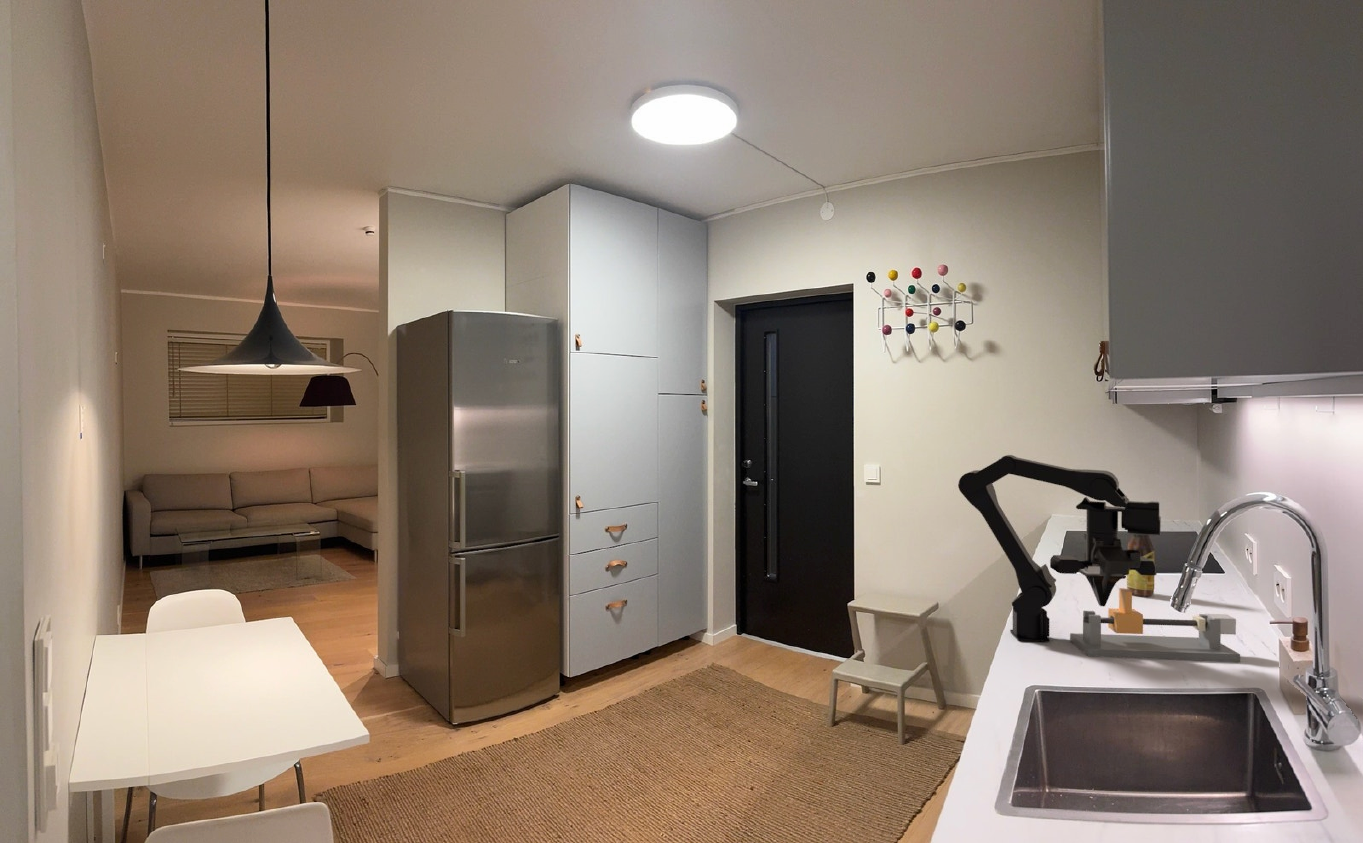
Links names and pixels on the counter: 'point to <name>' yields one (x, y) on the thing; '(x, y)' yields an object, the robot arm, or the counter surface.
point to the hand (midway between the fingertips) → (1101, 606)
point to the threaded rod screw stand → (1160, 639)
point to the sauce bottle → (1135, 581)
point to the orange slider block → (1126, 615)
